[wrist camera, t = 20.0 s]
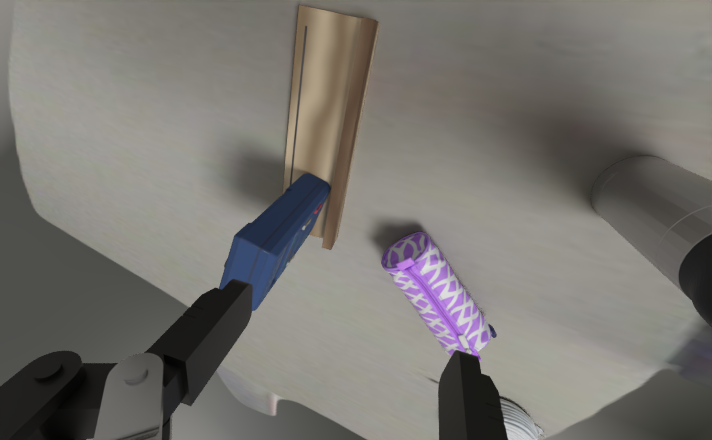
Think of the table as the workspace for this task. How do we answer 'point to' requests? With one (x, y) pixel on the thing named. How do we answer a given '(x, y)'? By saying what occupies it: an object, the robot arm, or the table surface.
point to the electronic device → (275, 237)
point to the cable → (519, 423)
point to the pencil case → (437, 294)
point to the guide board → (328, 105)
